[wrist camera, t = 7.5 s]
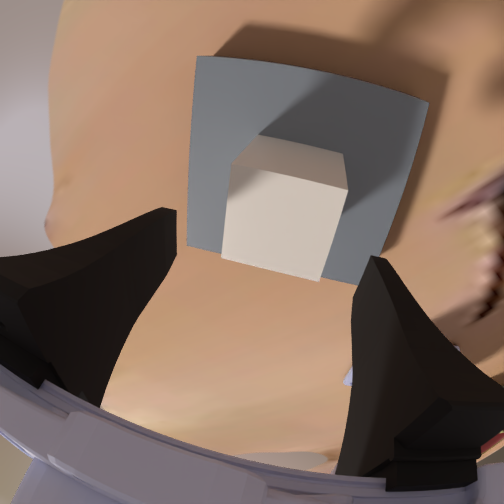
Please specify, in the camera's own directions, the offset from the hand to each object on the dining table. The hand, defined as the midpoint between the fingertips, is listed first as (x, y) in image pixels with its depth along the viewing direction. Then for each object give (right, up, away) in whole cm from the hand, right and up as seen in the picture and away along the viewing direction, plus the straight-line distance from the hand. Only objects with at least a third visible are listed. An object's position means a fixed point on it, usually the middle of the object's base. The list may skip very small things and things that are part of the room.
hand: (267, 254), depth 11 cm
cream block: (+2, +4, +6) cm, 7 cm away
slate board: (+2, +5, +7) cm, 9 cm away
